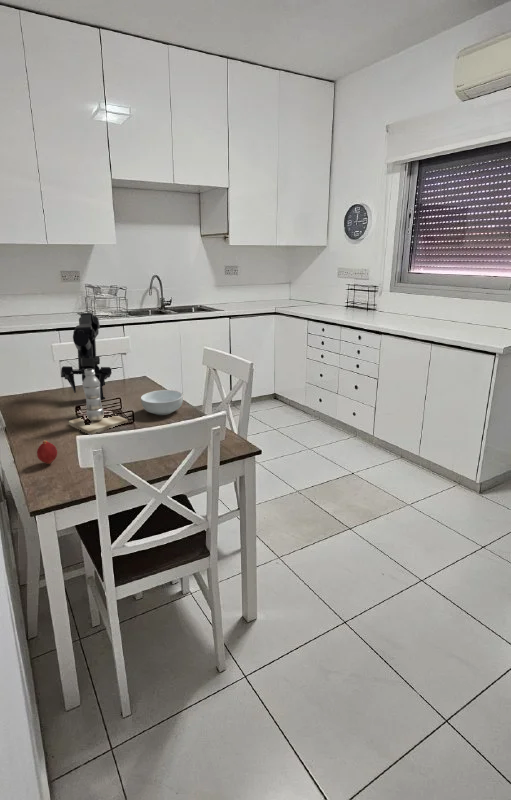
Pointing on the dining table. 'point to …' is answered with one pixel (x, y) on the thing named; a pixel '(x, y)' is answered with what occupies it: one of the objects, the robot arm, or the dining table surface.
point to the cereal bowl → (162, 401)
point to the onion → (47, 452)
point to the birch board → (98, 424)
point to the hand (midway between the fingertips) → (87, 392)
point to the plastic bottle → (92, 396)
